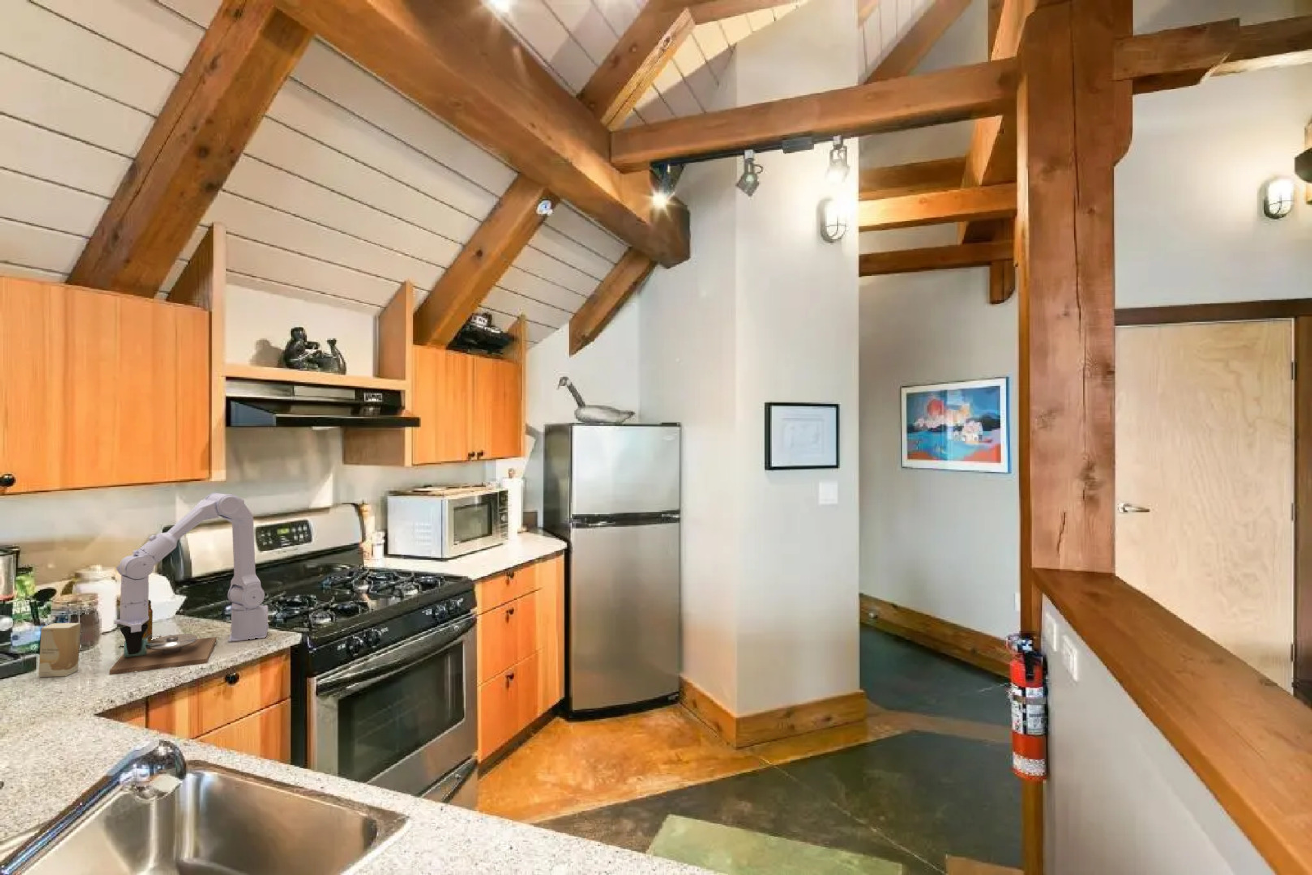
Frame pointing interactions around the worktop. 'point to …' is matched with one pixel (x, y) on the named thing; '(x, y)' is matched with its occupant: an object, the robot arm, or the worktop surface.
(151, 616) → the condiment
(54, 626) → the skincare box
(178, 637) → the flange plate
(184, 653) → the walnut base
